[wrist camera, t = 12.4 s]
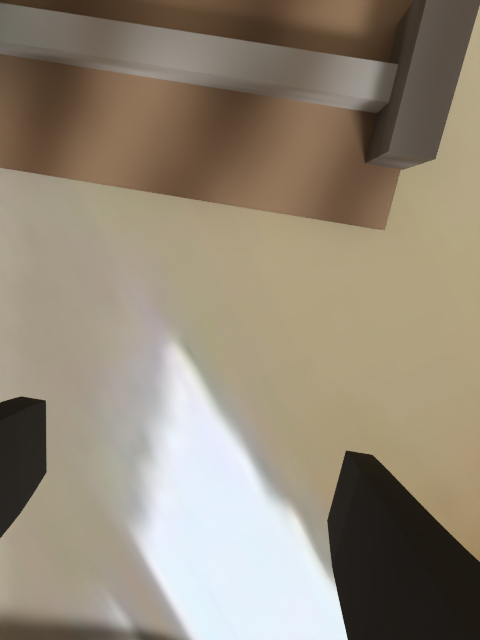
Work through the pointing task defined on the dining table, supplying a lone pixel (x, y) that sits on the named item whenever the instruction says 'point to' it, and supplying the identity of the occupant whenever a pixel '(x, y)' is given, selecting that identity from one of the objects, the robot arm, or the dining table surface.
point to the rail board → (233, 97)
